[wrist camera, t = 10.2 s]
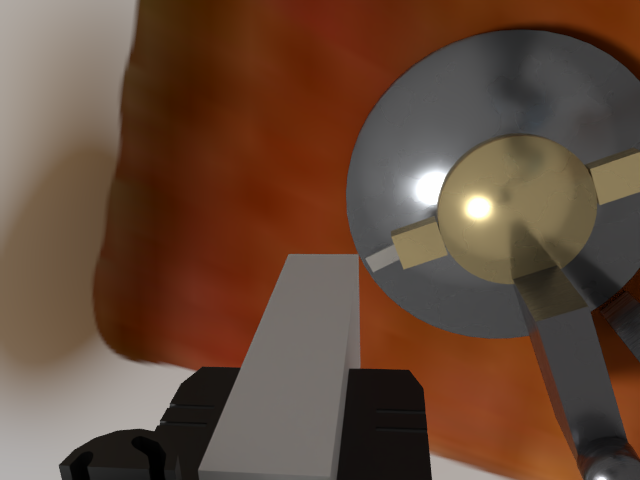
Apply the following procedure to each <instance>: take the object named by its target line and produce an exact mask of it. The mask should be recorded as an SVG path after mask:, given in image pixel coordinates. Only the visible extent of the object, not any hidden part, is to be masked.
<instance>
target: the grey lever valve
mask: <svg viewBox="0 0 640 480" xmlns="http://www.w3.org/2000/svg"><path fill="white" fill-rule="evenodd" d="M638 192H640V150H638V149H636V148H631V149H628V150H625V151H622V152H619V153H617V154H614V155H611V156H608V157H605V158H602V159H599V160H596V161H593V162H590V163H587V164H585V165H584V164H583V163H582V161H581V160H580V159H579V158H578V157H577V156H576V155H575V154H573V153H572V152H571V151H569V150H568V149H567V148H565V147H563V146H562V145H560V144H558V143H557V142H555V141H553V140H551V139H548V138H545V137H543V136H539V135H534V134H526V133H511V134H505V135H500V136H497V137H493V138H490V139H488V140H485V141H483V142H481V143H479V144H477V145H476V146H474V147H472V148H471V149H470V150H468V151H467V152H466V153H464V154H463V155H462V156H461V157H460V158H459V159H458V160H457V161H456V162H455V164H454V165H453V166H452V167H451V169H450V170H449V172H448V173H447V175H446V177H445V179H444V181H443V183H442V185H441V188H440V191H439V195H438V201H437V221H438V225H437V222H436V219H435V216H433V217H430V218H427V219H424V220H422V221H419V222H416V223H413V224H410V225H407V226H404V227H401V228H398V229H395V230H392V231H391V238H392V240H393V243H394V245H395V248H396V251H397V253H398V256H399V259H400V261H401V264H402V267H403V269H407V268H410V267H413V266H416V265H419V264H422V263H425V262H428V261H431V260H434V259H437V258H440V257H443V256H446V255H448V254H447V250H448V251H449V253H450V255H451V256H452V257H453V258H454V259H455V261H456V262H457V263H458V264H459V265H461V266H462V267H463V268H464V269H465V270H467V271H468V272H470V273H471V274H473V275H475V276H477V277H479V278H481V279H484V280H487V281H490V282H495V283H501V284H513V287H514V290H515V293H516V296H517V299H518V302H519V305H520V308H521V311H522V315H523V318H524V321H525V324H526V327H527V330H528V333H529V336H530V339H531V342H532V345H533V349H534V352H535V355H536V358H537V361H538V364H539V367H540V370H541V373H542V376H543V379H544V382H545V386H546V389H547V392H548V395H549V398H550V401H551V404H552V407H553V410H554V413H555V416H556V419H557V421H558V423H559V425H560V427H561V430H562V432H563V434H564V436H565V438H566V440H567V443H568V445H569V447H570V449H571V451H572V453H573V456H574V458H575V460H576V462H577V466H578V469H579V471H580V474H581V476H582V478H583V480H640V459H639V457H638V455H637V454H636V452H635V450H634V449H633V447H632V446H631V445H630V444H629V443H628V441H627V438H626V434H625V431H624V427H623V424H622V420H621V417H620V413H619V410H618V406H617V403H616V399H615V396H614V392H613V389H612V385H611V382H610V378H609V375H608V371H607V368H606V364H605V361H604V357H603V354H602V350H601V347H600V343H599V340H598V336H597V333H596V329H595V326H594V323H593V319H592V316H591V312H590V309H589V306H588V304H587V303H586V302H585V301H584V299H583V298H582V297H581V295H580V294H579V293H578V291H577V290H576V289H575V288H574V286H573V285H572V284H571V282H570V281H569V280H568V278H567V277H566V276H565V275H564V273H563V272H562V271H561V269H562V268H563V267H565V266H566V265H567V264H568V263H569V262H570V261H572V260H573V259H574V258H575V257H576V255H577V254H578V253H579V252H580V251H581V249H582V248H583V247H584V245H585V244H586V242H587V240H588V238H589V237H590V235H591V232H592V230H593V227H594V223H595V219H596V214H597V203H598V204H599V205H602V204H605V203H608V202H611V201H614V200H617V199H620V198H623V197H626V196H629V195H632V194H635V193H638ZM438 226H439V227H438ZM445 246H446V247H445ZM446 248H447V250H446Z"/></svg>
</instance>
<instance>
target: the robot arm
mask: <svg viewBox="0 0 640 480" xmlns="http://www.w3.org/2000/svg"><path fill="white" fill-rule="evenodd" d="M59 469H60V473H61V477H62V480H432V476H431V464H430V454H429V443H428V433H427V422H426V414H425V400H424V390H423V387H422V386H421V385H420V384H419V382H418V381H417V380H416V378H415V377H414V376H413V374H412V373H411V372H410V371H409V370H392V369H360V320H359V264H358V254H289V255H288V257H287V260H286V262H285V264H284V267H283V269H282V272H281V274H280V276H279V279H278V281H277V283H276V286H275V288H274V291H273V293H272V295H271V298H270V300H269V302H268V305H267V307H266V310H265V312H264V314H263V317H262V319H261V322H260V324H259V326H258V329H257V331H256V333H255V336H254V338H253V341H252V343H251V345H250V348H249V350H248V352H247V355H246V357H245V360H244V362H243V364H242V367H241V368H232V367H202V368H200V369H199V370H198V371H197V372H195V373H194V374H193V375H192V376H190V377H189V378H188V379H187V380H185V381H184V382H183V383H181V385H180V387H179V389H178V390H177V392H176V394H175V396H174V397H173V399H172V401H171V403H170V408H167V410H166V412H165V413H164V415H163V417H162V419H161V420H160V426H157V427H156V429H155V431H149V430H144V429H131V430H120V431H115V432H112V433H109V434H106V435H103V436H99V437H96V438H94V439H92V440H91V441H89V442H87V443H85V444H84V445H82V446H80V447H79V448H77V449H75V450H74V451H73V452H72V453H71V454H70V455H69V456H68V457H67V458H66V459H65V460H64V461H63V462H62V463H61V464H60V465H59Z"/></svg>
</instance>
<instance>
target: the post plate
mask: <svg viewBox="0 0 640 480" xmlns="http://www.w3.org/2000/svg"><path fill="white" fill-rule="evenodd" d="M511 133H526V134H534V135H539V136H543V137H545V138H548V139H551V140H553V141H555V142H557V143H558V144H560V145H562V146H563V147H565V148H567V149H568V150H569V151H571V152H572V153H573V154H575V155H576V156H577V157H578V158H579V159H580V160H581V161H582V163H583V164H584V165H585V164H587V163H590V162H593V161H596V160H599V159H602V158H605V157H608V156H611V155H614V154H617V153H619V152H622V151H625V150H628V149H631V148H636V149H638V150H640V81H639V80H638V79H637V78H636V77H635V76H634V75H633V74H632V73H631V72H630V71H629V70H628V69H627V68H626V67H625V66H624V65H622V64H621V63H620V62H618V61H617V60H616V59H614V58H613V57H612V56H610V55H609V54H607V53H605V52H604V51H602V50H600V49H598V48H596V47H595V46H593V45H591V44H589V43H586V42H583V41H581V40H578V39H575V38H572V37H570V36H566V35H561V34H557V33H552V32H547V31H535V30H505V31H493V32H488V33H483V34H478V35H473V36H470V37H467V38H464V39H461V40H459V41H456V42H453V43H450V44H448V45H446V46H444V47H442V48H440V49H438V50H436V51H434V52H432V53H430V54H429V55H427V56H426V57H424V58H423V59H421V60H420V61H418V62H417V63H415V64H414V65H412V66H411V67H410V68H409V69H408V70H406V71H405V72H404V73H403V74H402V75H401V76H399V77H398V78H397V79H396V80H395V81H394V82H393V83H392V84H391V86H390V87H389V88H388V89H387V90H386V91H385V92H384V93H383V94H382V96H381V97H380V98H379V100H378V101H377V103H376V104H375V106H374V107H373V108H372V110H371V111H370V113H369V115H368V117H367V119H366V120H365V122H364V124H363V126H362V128H361V130H360V132H359V135H358V138H357V141H356V143H355V146H354V149H353V152H352V157H351V162H350V166H349V171H348V178H347V190H346V201H347V215H348V220H349V226H350V231H351V234H352V237H353V240H354V243H355V246H356V249H357V251H358V254H359V256H360V258H361V260H362V262H363V264H364V266H365V267H366V269H367V270H368V272H369V273H370V275H371V276H372V278H373V279H374V281H375V282H376V283H377V284H378V285H379V287H380V288H381V289H382V290H383V291H384V292H385V293H386V294H387V296H389V297H390V298H391V299H392V300H393V301H394V302H396V303H397V304H398V305H399V306H400V307H401V308H403V309H404V310H406V311H407V312H409V313H410V314H412V315H413V316H415V317H416V318H418V319H420V320H422V321H424V322H426V323H428V324H430V325H432V326H435V327H438V328H441V329H443V330H446V331H449V332H452V333H457V334H461V335H466V336H470V337H480V338H514V337H522V336H529V333H528V330H527V327H526V324H525V321H524V318H523V315H522V311H521V308H520V305H519V302H518V299H517V296H516V293H515V290H514V287H513V284H501V283H495V282H490V281H487V280H484V279H481V278H479V277H477V276H475V275H473V274H471V273H470V272H468V271H467V270H465V269H464V268H463V267H462V266H461V265H459V264H458V263H457V262H456V261H455V259H454V258H453V257H452V256H451V255H450V253H449V251H448V250H447V248H446V250H447V254H448V255H446V256H443V257H440V258H437V259H434V260H431V261H428V262H425V263H422V264H419V265H416V266H413V267H410V268H407V269H403V267H402V264H401V261H400V259H399V256H398V253H397V251H396V248H395V245H394V243H393V240H392V238H391V231H392V230H395V229H398V228H401V227H404V226H407V225H410V224H413V223H416V222H419V221H422V220H424V219H427V218H430V217H433V216H435V219H436V222H437V225H438V221H437V201H438V195H439V191H440V188H441V185H442V183H443V181H444V179H445V177H446V175H447V173H448V172H449V170H450V169H451V167H452V166H453V165H454V164H455V162H456V161H457V160H458V159H459V158H460V157H461V156H462V155H463V154H464V153H466V152H467V151H468V150H470V149H471V148H472V147H474V146H476V145H477V144H479V143H481V142H483V141H485V140H488V139H490V138H493V137H497V136H500V135H505V134H511ZM438 227H439V226H438ZM445 247H446V246H445ZM639 268H640V192H638V193H635V194H632V195H629V196H626V197H623V198H620V199H617V200H614V201H611V202H608V203H605V204H602V205H599V204H598V203H597V214H596V219H595V223H594V227H593V230H592V232H591V235H590V237H589V238H588V240H587V242H586V244H585V245H584V247H583V248H582V249H581V251H580V252H579V253H578V254H577V255H576V257H575V258H574V259H573V260H572V261H570V262H569V263H568V264H567V265H566V266H565V267H563V268H562V269H561V271H562V272H563V273H564V275H565V276H566V277H567V278H568V280H569V281H570V282H571V284H572V285H573V286H574V288H575V289H576V290H577V291H578V293H579V294H580V295H581V297H582V298H583V299H584V301H585V302H586V303H587V304H588V306H589V309H590V312H591V311H593V310H594V309H596V308H597V307H599V306H600V305H602V304H603V303H604V302H606V301H607V300H608V299H609V298H611V297H612V296H613V295H614V294H616V293H617V292H618V291H619V290H620V289H621V288H622V287H623V286H624V285H625V284H626V283H627V282H628V281H629V280H630V279H631V278H632V277H633V276H634V274H635V273H636V272H637V270H638V269H639ZM600 313H601V314H602V315H603V316H604V318H605V319H606V320H607V321H608V323H609V324H610V325H611V326H612V328H613V329H614V330H615V332H616V333H617V334H618V335H619V337H620V338H621V339H622V340H623V342H624V343H625V344H626V345H627V347H628V348H629V349H630V350H631V352H632V353H633V354H634V356H635V357H636V358H637V359H638V361H639V362H640V303H639V302H638V301H637V300H636V299H635V298H634V297H633V296H632V295H630V294H629V293H628V292H627V291H625V292H624V293H622V294H621V295H620V296H619V297H617V298H616V299H615V300H614V301H612V302H611V303H610V304H609V305H607V306H606V307H605V308H604V309H602V310H601V311H600Z"/></svg>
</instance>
